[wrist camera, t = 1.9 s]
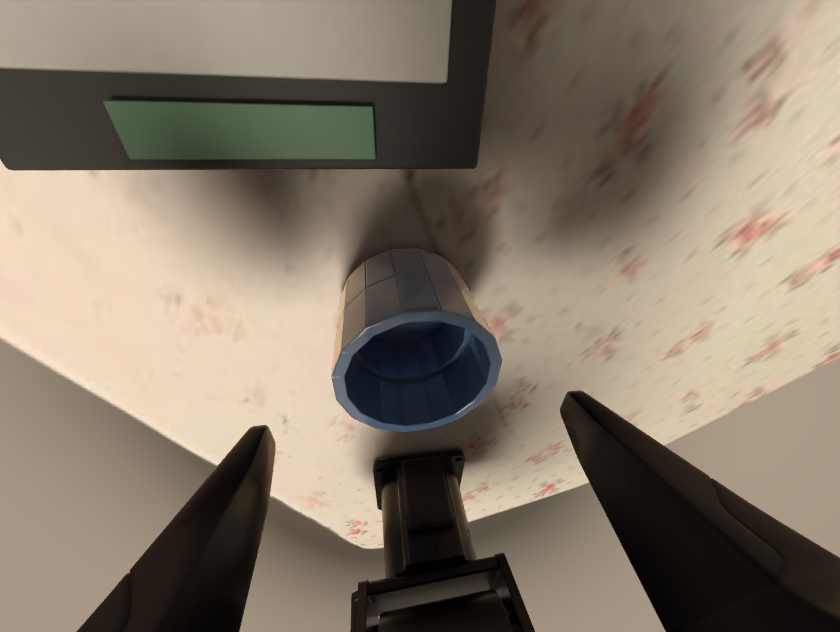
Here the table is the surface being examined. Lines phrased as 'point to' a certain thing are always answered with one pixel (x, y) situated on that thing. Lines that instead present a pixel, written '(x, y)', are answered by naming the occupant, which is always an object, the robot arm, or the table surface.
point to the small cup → (411, 344)
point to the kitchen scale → (243, 84)
